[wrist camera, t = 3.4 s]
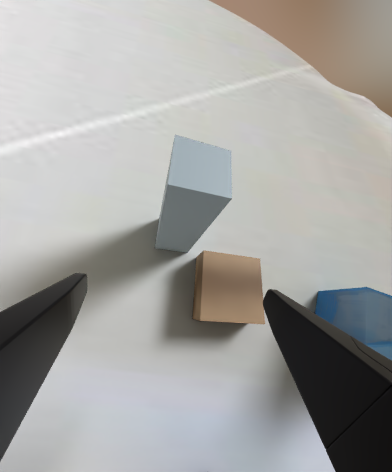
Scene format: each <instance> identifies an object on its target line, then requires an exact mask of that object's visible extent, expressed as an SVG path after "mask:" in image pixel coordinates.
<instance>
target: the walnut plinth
mask: <svg viewBox="0 0 392 472" xmlns="http://www.w3.org/2000/svg"><path fill="white" fill-rule="evenodd" d="M192 319H195V320H200V321H215V322H234V323H252V324H265V320H264V307H263V293H262V280H261V266H260V259H258V258H252V257H245V256H238V255H231V254H224V253H217V252H211V251H203V252H202V253H200V254H199V255H198V256H197V257H196V271H195V287H194V303H193V318H192Z"/></svg>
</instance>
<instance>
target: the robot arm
mask: <svg viewBox="0 0 392 472" xmlns="http://www.w3.org/2000/svg"><path fill="white" fill-rule="evenodd" d="M86 293H87V275H86V274H82V273H75V274H73V275H71V276H69V277H67V278H65V279H63V280H61V281H59V282H57V283H55V284H54V285H52V286H50V287H48V288H46V289H44V290H42V291H40V292H38V293H36V294H34V295H32V296H30V297H28V298H27V299H25V300H23V301H21V302H19V303H17V304H15V305H13V306H11V307H9V308H7V309H5V310H3V311H1V312H0V461H1V459H2V457H3V456H4V454H5V452H6V450H7V448H8V446H9V444H10V443H11V441H12V439H13V437H14V435H15V433H16V432H17V430H18V428H19V426H20V424H21V422H22V420H23V419H24V417H25V415H26V413H27V411H28V409H29V407H30V406H31V404H32V402H33V400H34V398H35V396H36V395H37V393H38V391H39V389H40V387H41V385H42V383H43V382H44V380H45V378H46V376H47V374H48V372H49V371H50V369H51V367H52V365H53V363H54V361H55V359H56V358H57V356H58V354H59V352H60V350H61V348H62V347H63V345H64V343H65V341H66V339H67V337H68V335H69V334H70V332H71V330H72V328H73V325H74V323H75V320H76V318H77V316H78V313H79V311H80V308H81V306H82V303H83V301H84V298H85V296H86ZM263 307H264V310H265V313H266V315H267V318H268V321H269V324H270V327H271V329H272V332H273V335H274V337H275V339H276V341H277V343H278V346H279V348H280V350H281V352H282V354H283V357H284V359H285V361H286V363H287V365H288V368H289V370H290V372H291V374H292V376H293V379H294V381H295V383H296V385H297V388H298V390H299V392H300V394H301V396H302V399H303V401H304V403H305V405H306V407H307V410H308V412H309V414H310V416H311V418H312V421H313V423H314V425H315V427H316V429H317V432H318V434H319V436H320V438H321V440H322V443H323V445H324V447H325V449H326V452H327V454H328V456H329V458H330V461H331V463H332V465H333V467H334V469H335V472H392V360H390V359H388V358H387V357H385V356H383V355H382V354H380V353H378V352H376V351H375V350H373V349H371V348H370V347H368V346H366V345H365V344H363V343H362V342H360V341H358V340H357V339H355V338H353V337H352V336H349V335H348V334H347V333H345V332H344V331H342V330H340V329H339V328H337V327H336V326H334V325H332V324H331V323H329V322H328V321H326V320H324V319H323V318H321V317H319V316H318V315H316V314H315V313H313V312H311V311H310V310H308V309H307V308H305V307H303V306H302V305H300V304H298V303H297V302H295V301H294V300H292V299H290V298H289V297H287V296H286V295H284V294H282V293H281V292H279V291H277V290H273V289H269V290H268V291H267V293H266V295H265V297H264V300H263Z"/></svg>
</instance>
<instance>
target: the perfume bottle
mask: <svg viewBox="0 0 392 472" xmlns="http://www.w3.org/2000/svg"><path fill="white" fill-rule="evenodd" d="M315 314H316V315H318V316H319V317H321V318H323V319H324V320H326V321H328V322H329V323H331V324H332V325H334V326H336V327H337V328H339V329H340V330H342V331H344V332H345V333H347V334H348V335H349V336H352V337H353V338H355V339H357V340H358V341H360V342H362V343H363V344H365V345H366V346H368V347H370V348H371V349H373V350H375V351H376V352H378V353H380V354H382V355H383V356H385V357H387V358H388V359H390V360H392V296H390V295H388V294H385V293H382V292H379V291H376V290H374V289H371V288H368V287H362V288H351V289H339V290H328V291H318V297H317V304H316V310H315Z"/></svg>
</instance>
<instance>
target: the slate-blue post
mask: <svg viewBox="0 0 392 472" xmlns="http://www.w3.org/2000/svg"><path fill="white" fill-rule="evenodd" d="M231 199H232V172H231V151H230V150H227V149H223V148H220V147H216V146H213V145H209V144H206V143H202V142H199V141H195V140H192V139H189V138H185V137H182V136H178V135H175V138H174V143H173V149H172V154H171V159H170V165H169V170H168V175H167V181H166V186H165V191H164V197H163V202H162V207H161V212H160V218H159V224H158V230H157V237H156V243H155V248H157V249H164V250H171V251H178V252H185V253H187V252H188V251H189V250H190V249H191V248H192V246H193V245H194V244H195V243H196V242H197V240H198V239H199V238H200V237H201V235H202V234H203V233H204V232H205V231H206V229H207V228H208V227H209V226H210V225H211V223H212V222H213V221H214V220H215V218H216V217H217V216H218V215H219V214H220V212H221V211H222V210H223V209H224V208H225V206H226V205H227V204H228V203H229V201H230V200H231Z"/></svg>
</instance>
